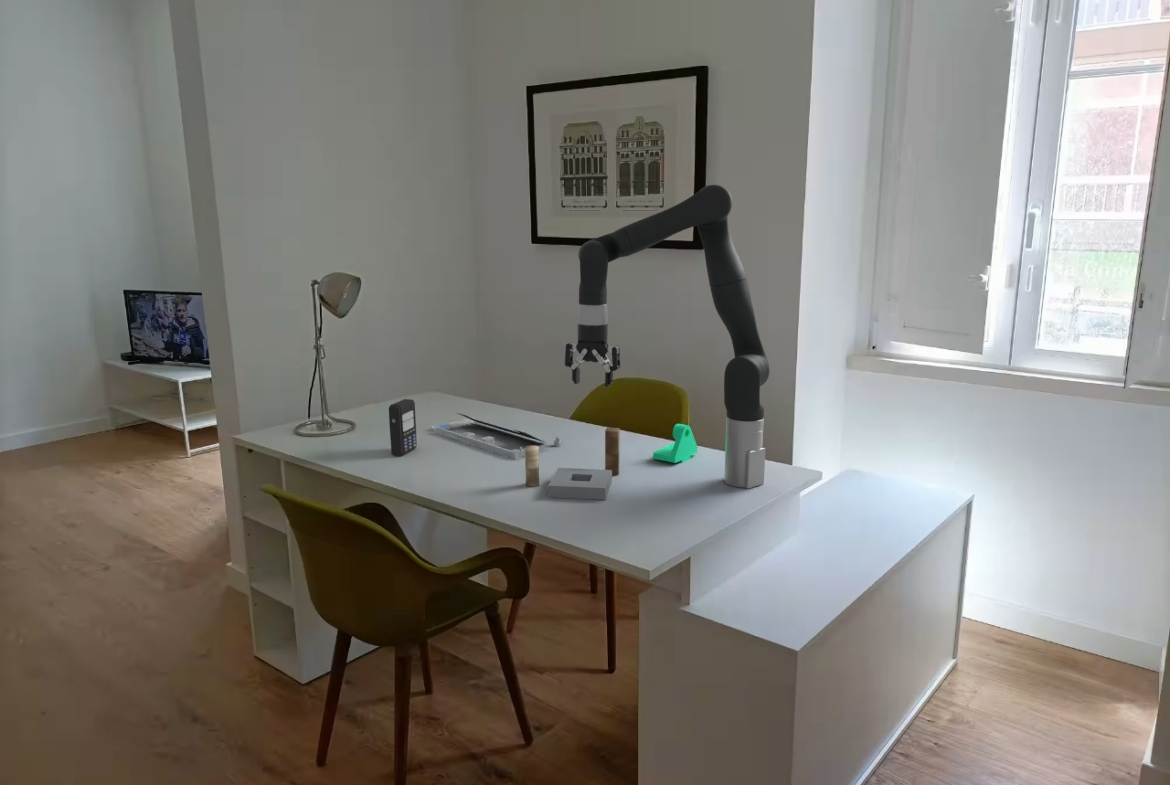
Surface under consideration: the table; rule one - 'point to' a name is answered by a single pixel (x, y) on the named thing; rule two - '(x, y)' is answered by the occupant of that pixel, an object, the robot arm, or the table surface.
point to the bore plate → (580, 483)
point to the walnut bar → (612, 450)
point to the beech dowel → (532, 465)
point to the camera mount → (678, 446)
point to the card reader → (402, 427)
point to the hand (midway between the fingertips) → (592, 384)
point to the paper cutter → (486, 441)
